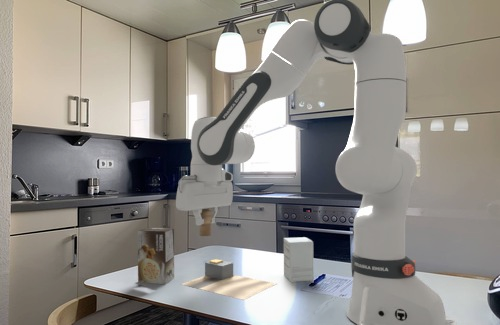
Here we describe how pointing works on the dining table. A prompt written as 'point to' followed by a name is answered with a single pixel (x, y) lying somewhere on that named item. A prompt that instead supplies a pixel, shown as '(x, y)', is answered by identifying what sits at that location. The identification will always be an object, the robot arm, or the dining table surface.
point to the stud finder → (219, 269)
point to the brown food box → (156, 255)
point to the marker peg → (205, 223)
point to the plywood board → (230, 286)
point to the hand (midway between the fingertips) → (205, 224)
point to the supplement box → (298, 259)
